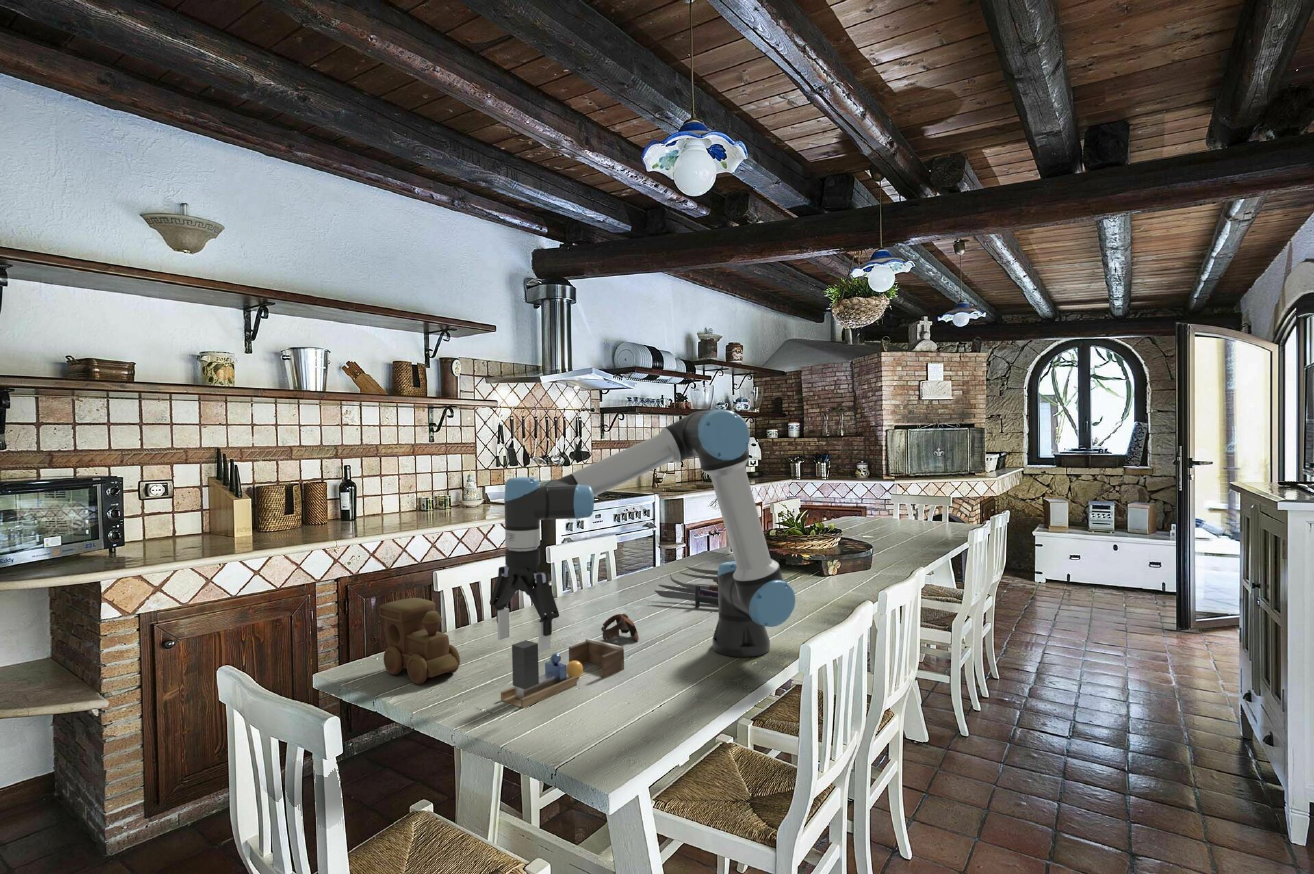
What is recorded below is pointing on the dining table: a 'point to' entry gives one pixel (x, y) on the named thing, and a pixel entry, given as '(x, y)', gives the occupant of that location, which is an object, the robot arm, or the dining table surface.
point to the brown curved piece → (619, 627)
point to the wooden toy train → (416, 640)
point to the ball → (574, 669)
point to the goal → (599, 655)
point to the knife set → (693, 589)
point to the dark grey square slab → (534, 670)
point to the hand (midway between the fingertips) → (523, 644)
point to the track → (537, 693)
